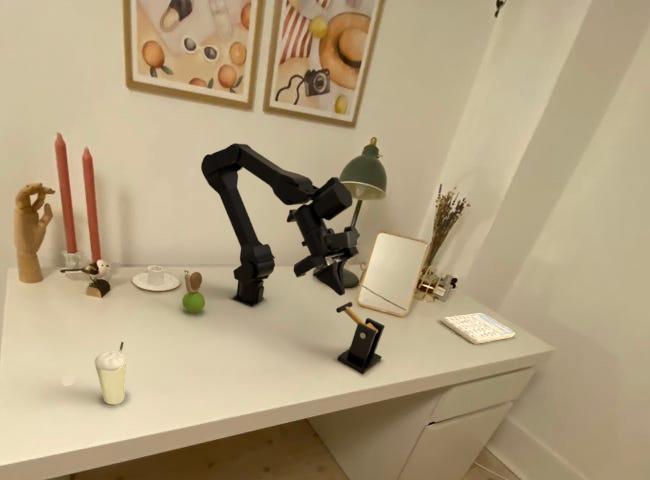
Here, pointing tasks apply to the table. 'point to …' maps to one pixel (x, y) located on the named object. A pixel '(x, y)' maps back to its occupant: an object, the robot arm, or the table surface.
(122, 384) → the milkshake
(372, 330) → the bracket
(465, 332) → the calculator
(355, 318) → the lever
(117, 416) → the table surface
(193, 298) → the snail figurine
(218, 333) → the table surface
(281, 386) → the table surface
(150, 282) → the candle holder
